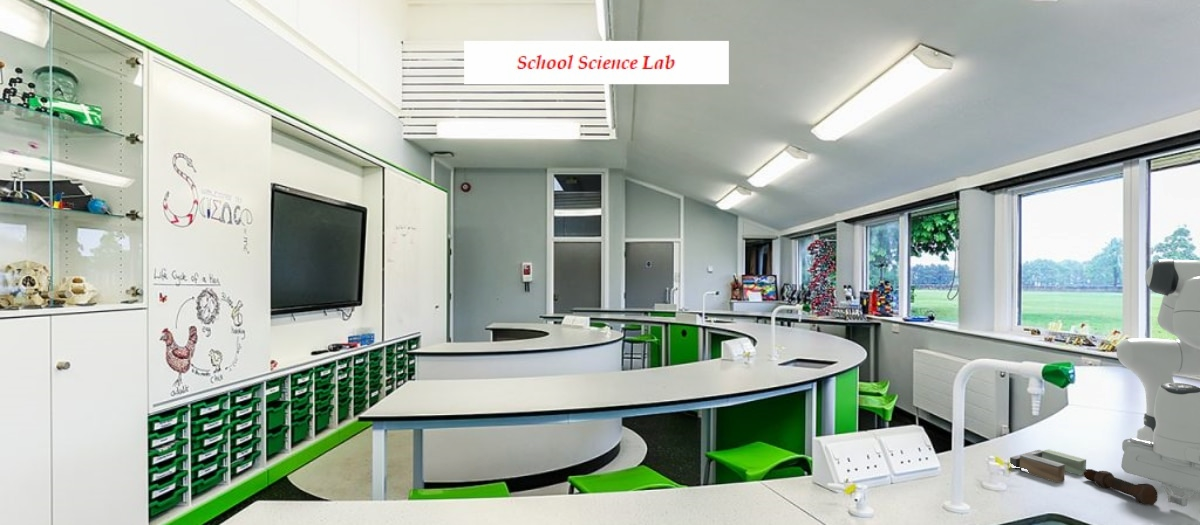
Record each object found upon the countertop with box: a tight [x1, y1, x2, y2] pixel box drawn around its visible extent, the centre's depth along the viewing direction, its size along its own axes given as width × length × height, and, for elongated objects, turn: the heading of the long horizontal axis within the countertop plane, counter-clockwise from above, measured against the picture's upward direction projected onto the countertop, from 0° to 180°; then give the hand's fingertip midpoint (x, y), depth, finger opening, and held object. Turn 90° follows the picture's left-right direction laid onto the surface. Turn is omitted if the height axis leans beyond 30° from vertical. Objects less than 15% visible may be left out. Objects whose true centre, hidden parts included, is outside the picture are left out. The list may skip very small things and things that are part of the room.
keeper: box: [1009, 449, 1087, 483], centre depth 152 cm, size 17×12×4 cm
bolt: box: [1083, 468, 1159, 506], centre depth 139 cm, size 6×5×15 cm
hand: (1177, 503), depth 129 cm, fingers closed
